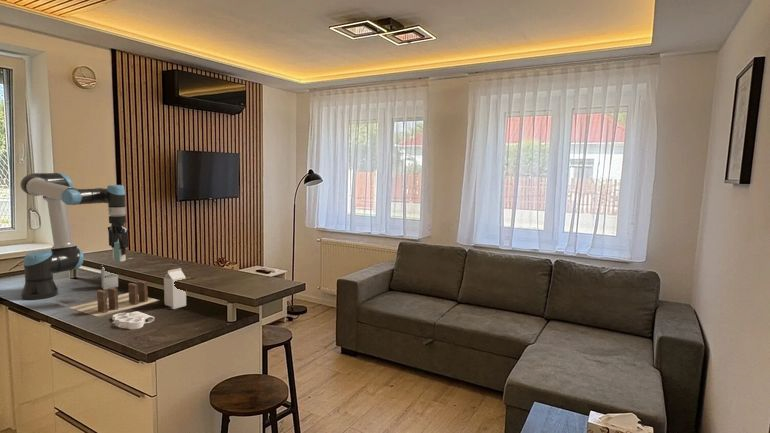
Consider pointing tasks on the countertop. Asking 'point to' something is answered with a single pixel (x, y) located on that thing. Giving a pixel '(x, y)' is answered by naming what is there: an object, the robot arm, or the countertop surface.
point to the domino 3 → (117, 251)
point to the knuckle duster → (131, 320)
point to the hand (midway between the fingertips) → (119, 260)
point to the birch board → (122, 305)
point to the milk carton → (174, 289)
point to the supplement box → (108, 279)
